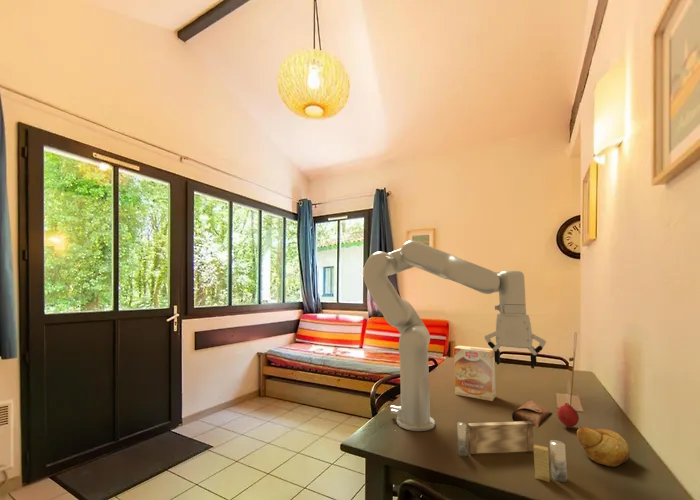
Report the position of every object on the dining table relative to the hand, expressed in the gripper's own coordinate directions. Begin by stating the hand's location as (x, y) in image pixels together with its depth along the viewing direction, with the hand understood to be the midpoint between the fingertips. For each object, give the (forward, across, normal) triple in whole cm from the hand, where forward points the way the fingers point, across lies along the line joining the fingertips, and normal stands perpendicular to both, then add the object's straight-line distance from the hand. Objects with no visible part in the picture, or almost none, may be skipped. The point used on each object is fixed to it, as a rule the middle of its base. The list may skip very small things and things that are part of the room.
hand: (515, 365), depth 104 cm
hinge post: (+21, -12, -20) cm, 31 cm away
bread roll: (+21, +22, -2) cm, 30 cm away
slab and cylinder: (+21, +9, -20) cm, 30 cm away
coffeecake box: (+21, -19, +33) cm, 44 cm away
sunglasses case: (+22, +3, +20) cm, 30 cm away
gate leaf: (+21, -3, -13) cm, 25 cm away
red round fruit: (+21, +13, +16) cm, 30 cm away
